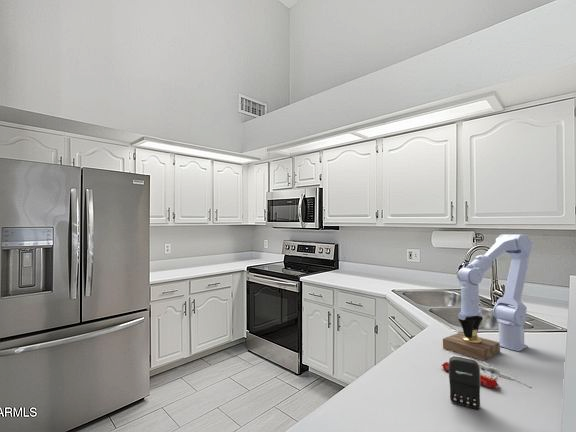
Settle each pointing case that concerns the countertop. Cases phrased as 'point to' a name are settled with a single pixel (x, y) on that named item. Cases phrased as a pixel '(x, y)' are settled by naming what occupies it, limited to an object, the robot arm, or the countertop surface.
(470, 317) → the robot arm
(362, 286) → the countertop surface
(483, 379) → the candy bar
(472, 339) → the pin
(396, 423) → the countertop surface
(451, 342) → the hitch block
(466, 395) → the battery charger
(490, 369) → the pliers
